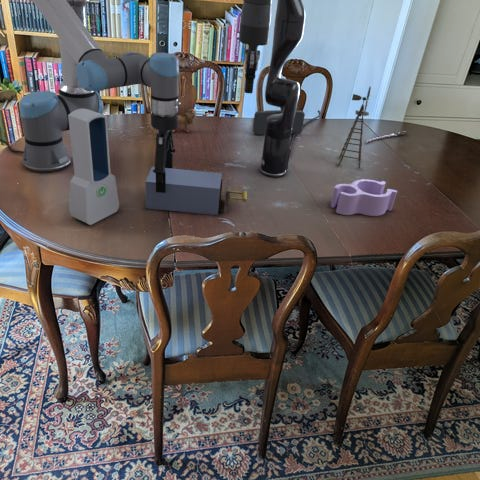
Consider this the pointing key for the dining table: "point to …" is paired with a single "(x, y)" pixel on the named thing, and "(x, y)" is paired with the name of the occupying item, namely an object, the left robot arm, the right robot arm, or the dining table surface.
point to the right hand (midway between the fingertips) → (248, 92)
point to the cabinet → (185, 191)
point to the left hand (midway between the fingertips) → (164, 182)
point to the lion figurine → (187, 119)
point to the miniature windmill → (359, 113)
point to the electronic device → (91, 168)
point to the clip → (363, 198)
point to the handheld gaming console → (262, 116)
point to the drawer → (227, 197)
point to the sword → (384, 137)
